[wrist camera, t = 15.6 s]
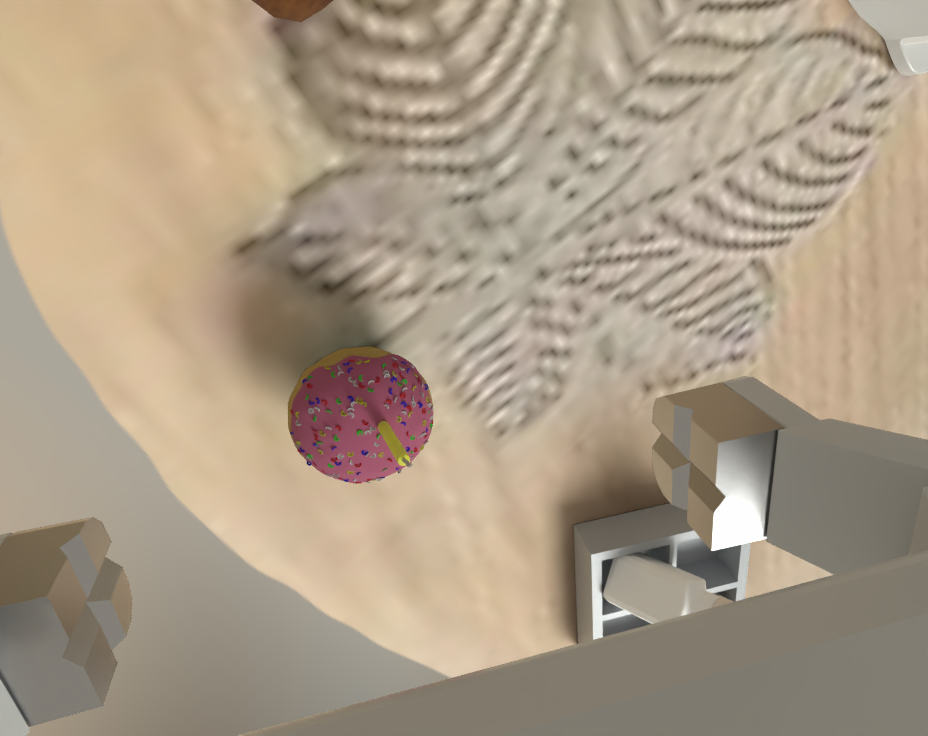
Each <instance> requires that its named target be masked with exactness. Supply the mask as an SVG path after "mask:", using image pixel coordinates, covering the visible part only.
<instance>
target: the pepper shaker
mask: <svg viewBox="0 0 928 736" xmlns="http://www.w3.org/2000/svg"><path fill="white" fill-rule="evenodd" d="M603 597H604V598H605V599H606V600H607V601H608V602H609V603H611V604H613V605H615V606H617V607H619V608H621V609H623V610H625V611H627V612H629V613H631V614H633V615H635V616H637V617H639V618H641V619H643V620H645V621H647V622H649V623H651V624H654V623H657V622H661V621H665V620H669V619H672V618H676V617H680V616H683V615H687V614H691V613H695V612H698V611H702V610H706V609H709V608H713V607H717V606H721V605H724V604H728V603H732V602H733V601H731V600H729V599H727V598H725V597H723V596H720V595H719V596H717V595H715V594H712V593H710V592H708V591H706V581H705V580H704V579H702V578H700V577H698V576H695V575H693V574H691V573H688V572H686V571H683V570H681V569H679V568H676V567H674V566H672V565H669V564H667V563H665V562H662V561H660V560H658V559H655V558H653V557H651V556H648V555H646V554H644V553H641V552H637V553H632V554H628V555H624V556H620V557H616V558H613V561H612V565H611V568H610V571H609V575H608V578H607V582H606V585H605V588H604V592H603Z"/></svg>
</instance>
